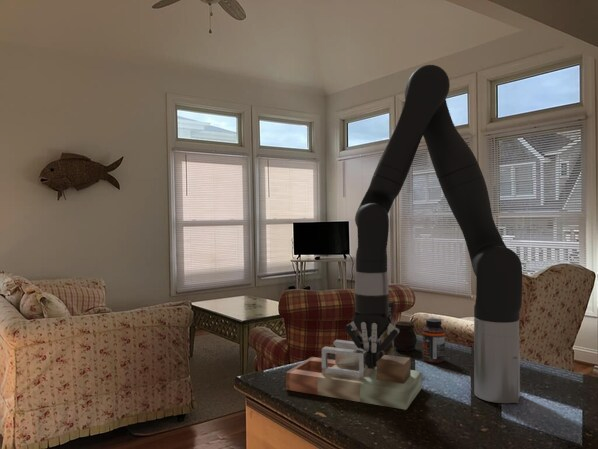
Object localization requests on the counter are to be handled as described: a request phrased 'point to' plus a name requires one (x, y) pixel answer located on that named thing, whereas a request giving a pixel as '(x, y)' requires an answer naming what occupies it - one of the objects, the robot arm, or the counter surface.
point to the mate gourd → (405, 336)
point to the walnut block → (393, 369)
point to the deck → (352, 384)
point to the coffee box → (390, 348)
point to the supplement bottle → (433, 341)
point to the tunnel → (345, 360)
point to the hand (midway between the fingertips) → (371, 367)
